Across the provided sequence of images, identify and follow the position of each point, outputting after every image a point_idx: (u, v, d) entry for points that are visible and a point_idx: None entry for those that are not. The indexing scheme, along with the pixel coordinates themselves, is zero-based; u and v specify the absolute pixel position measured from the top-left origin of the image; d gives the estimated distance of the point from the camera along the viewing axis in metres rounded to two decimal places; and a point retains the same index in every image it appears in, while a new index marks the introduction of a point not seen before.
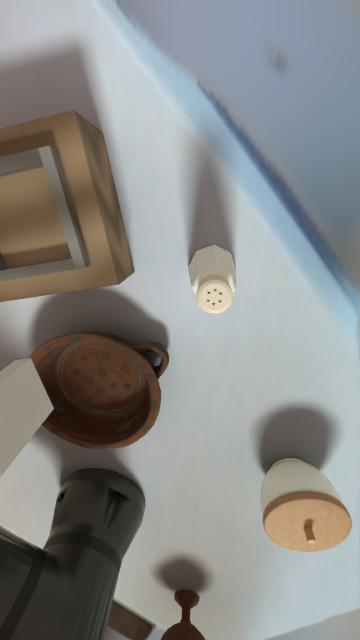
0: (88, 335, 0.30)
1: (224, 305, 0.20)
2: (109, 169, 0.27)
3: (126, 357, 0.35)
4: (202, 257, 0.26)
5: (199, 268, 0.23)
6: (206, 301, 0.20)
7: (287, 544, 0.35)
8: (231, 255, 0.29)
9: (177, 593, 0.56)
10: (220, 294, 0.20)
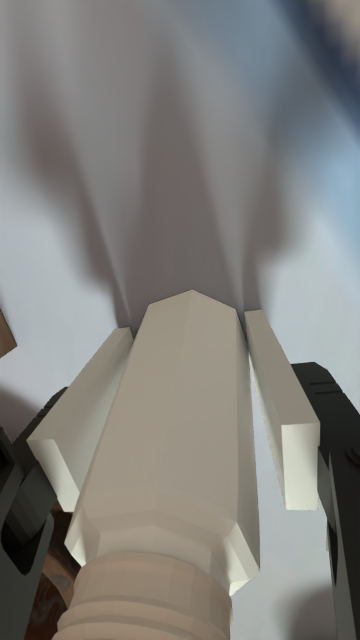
0: None
1: None
2: None
3: None
4: (146, 350, 0.08)
5: (100, 452, 0.05)
6: None
7: None
8: None
9: None
10: None
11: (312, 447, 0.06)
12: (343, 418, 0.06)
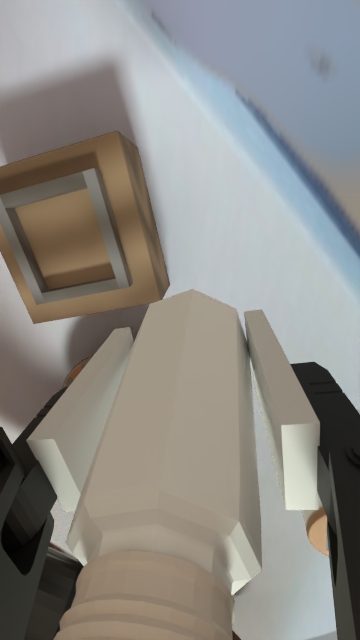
0: None
1: None
2: (145, 184, 0.26)
3: None
4: (147, 349, 0.08)
5: (102, 451, 0.05)
6: None
7: None
8: None
9: None
10: None
11: (312, 447, 0.06)
12: (343, 418, 0.06)
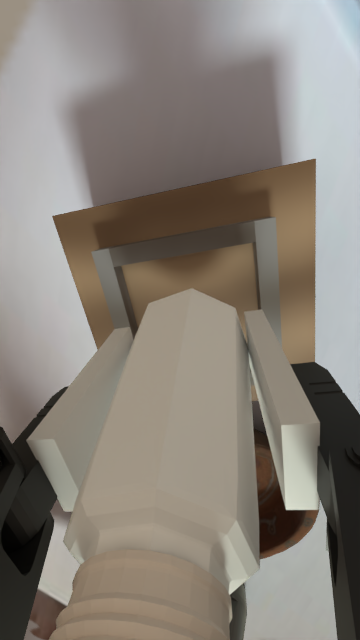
0: None
1: None
2: None
3: None
4: (146, 348, 0.08)
5: (100, 450, 0.05)
6: None
7: None
8: None
9: None
10: None
11: (312, 447, 0.06)
12: (343, 418, 0.06)
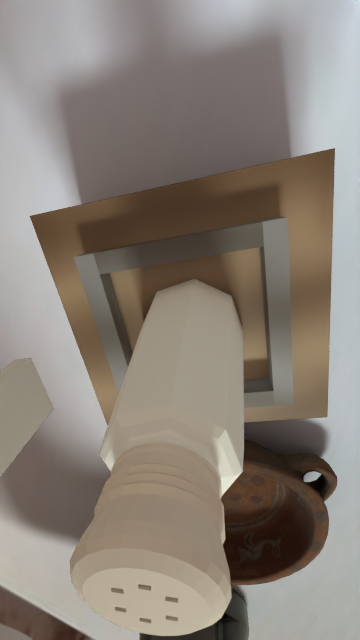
0: None
1: (193, 629, 0.04)
2: None
3: None
4: (157, 324, 0.10)
5: (126, 389, 0.07)
6: (112, 610, 0.04)
7: None
8: None
9: None
10: (171, 601, 0.04)
11: None
12: None
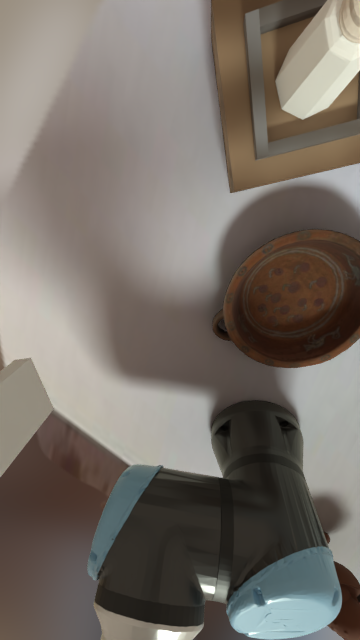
0: (320, 230, 0.28)
1: None
2: None
3: (327, 267, 0.33)
4: None
5: None
6: None
7: None
8: None
9: None
10: None
11: None
12: None
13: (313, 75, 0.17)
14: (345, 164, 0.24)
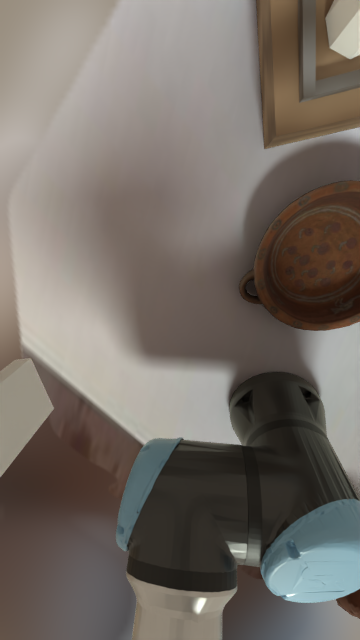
0: (358, 182, 0.28)
1: None
2: None
3: (358, 228, 0.33)
4: None
5: None
6: None
7: None
8: None
9: None
10: None
11: None
12: None
13: None
14: None
